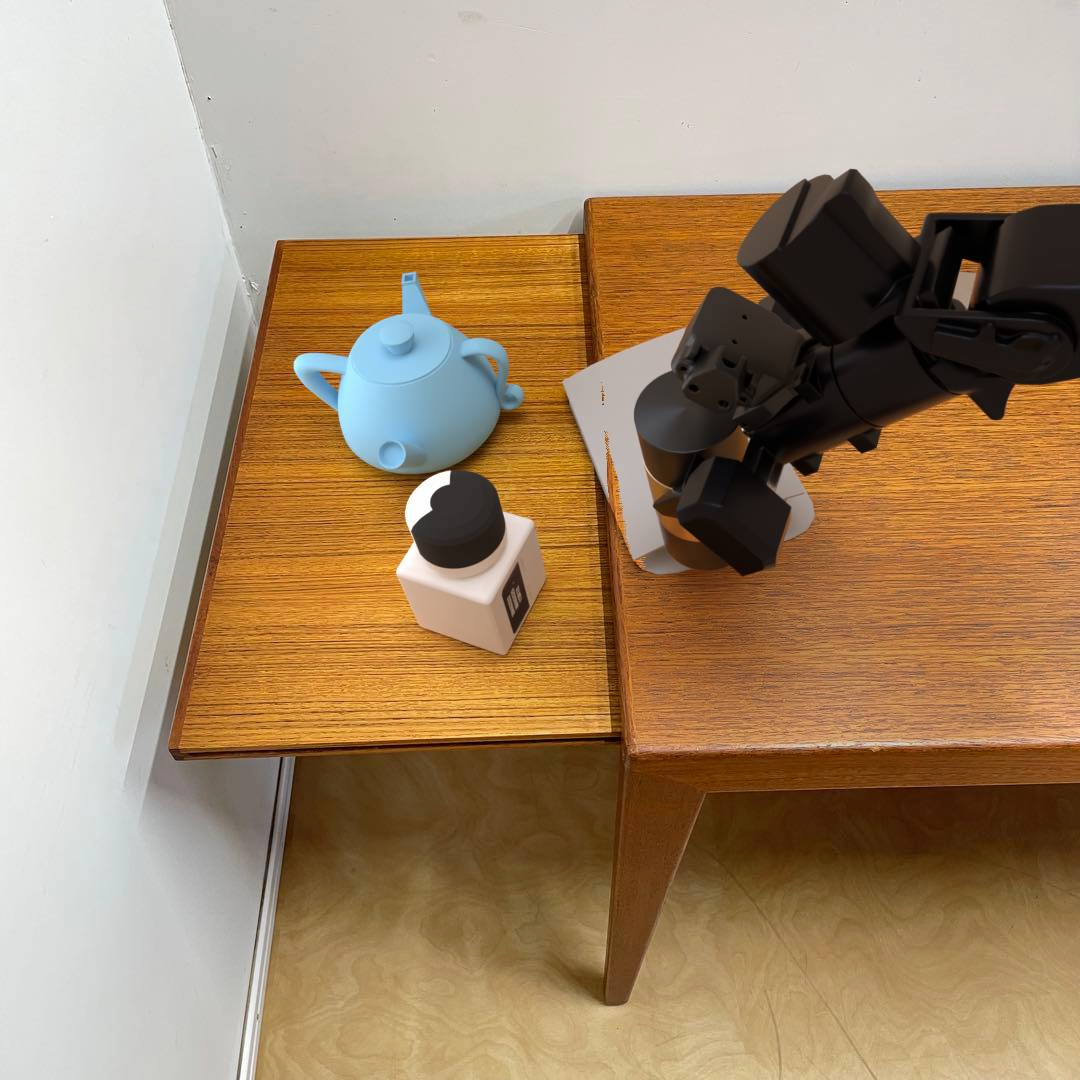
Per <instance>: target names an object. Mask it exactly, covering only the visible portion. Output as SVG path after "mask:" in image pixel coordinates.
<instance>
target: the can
mask: <svg viewBox="0 0 1080 1080" xmlns="http://www.w3.org/2000/svg"><path fill="white" fill-rule="evenodd" d="M683 384H684V381H682V380H680V379H679V378H678V377H677V376H676V375H675V374H674V373H673V371H672V370H671V371H669V372H666V373H664V374H662V375H660V376H659V377H657V378H656V379H654V380H653V381H652V382H650V383H649V384H648V385H647V386H646V387H645V388H644V389H643V391H642V392H641V393H640V395H639V397H638V399H637V401H636V404H635V408H634V423H635V427H636V431H637V435H638V439H639V443H640V447H641V451H642V457H643V463H644V467H645V471H646V475H647V479H648V483H649V487H650V491H651V495H652V499H653V503H654V502H655V501H656V500H657V499H658V498H660V497H661V496H662V495H664V494H665V493H666V492H668V491H670V490H671V489H673V488H675V487H676V486H678V485H679V484H681V483H683V482H684V480H685V478H686V475H687V473H688V470H689V468H690V465H691V463H692V460H693V458H694V455H695V453H698V454H699V455H700V456H701V457H703V458H704V459H705V460H707V459H709V458H711V457H714V456H721V457H726V458H731V459H736V460H739V461H740V462H742V460H743V457H744V454H745V451H746V449H747V446H748V443H749V441H748V437H747V436H746V435H745V434H744V433H743V432H742V430H741V427H740V426H739V425H738V424H737V423H736V422H735V421H734V420H733V419H732V418H733V416H734V413H735V411H736V408H737V407H739V405H735V406H734V407H733V409H732V410H731V411H730V412H729V413H727V414H716V413H714V412H712V411H710V410H709V409H707V408H705V407H703V406H701V405H699V404H697V403H695V402H693V401H691V400H689V399H688V398H686V397H685V396H684V394H683V392H682V386H683ZM655 511H656V515H657V517H658V521H659V525H660V529H661V533H662V537H663V541H664V544H665V547H666V549H667V551H668V552H669V554H670V555H671V556H672V557H673V558H674V559H675V560H676V561H677V562H679V563H680V564H682V565H684V566H686V567H688V568H692V569H691V570H695V571H702V572H703V571H704V572H709V571H710V572H711V571H717V570H723V569H726V568H728V567H730V566H729V565H728V564H726V563H725V562H724V561H723V560H722V559H720V558H719V557H718V556H717V555H716V554H714V553H713V552H712V551H711V550H710V549H708V548H707V547H706V546H705V545H704V544H702V543H701V542H700V541H699V540H698V539H696V538H695V537H694V536H693V535H692V534H690V533H689V532H688V531H687V530H686V529H684V528H683V527H682V526H681V525H680V524H679V521H678V519H677V518H672V517H667V516H663V515H661V514H660V513H659V512H658V511H657V510H655Z"/></svg>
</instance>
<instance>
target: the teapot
mask: <svg viewBox="0 0 1080 1080" xmlns="http://www.w3.org/2000/svg"><path fill="white" fill-rule="evenodd" d="M400 283H401V297H402V298H401V299H402V300H401V301H402V302H401V304H402V306H401V307H402V313H401V314H396V315H391V316H389V317H386V318H384V319H381V320H379V321H378V322H375V323H374V324H372V325H371V326H369V327H368V328H367V329H366V330H365V331H363V332H362V333H361V334H360V336H359V337H358V338H357V339H356V341H355V342H354V344H353V346H352V347H351V350H350V352H349V354H348V356H344V355H338V354H333V353H323V352H307V353H303V354H300V355H298V356H297V357H296V358H295V359H294V361H293V370H294V373H295V374H296V375H295V376H297V378H298V380H299V381H300V382H301V383H302V384H303V385H304V386H305V387H306V388H307V389H308V390H309V391H310V392H311V393H313V394H314V395H315V396H316V397H318V398H319V399H320V400H321V401H323V402H324V403H325V404H327V405H328V406H329V407H331V408H332V409H334V410H335V411H336V412H337V413H338V420H339V426H340V429H341V433H342V436H343V438H344V440H345V442H346V445H347V446H348V447H349V448H350V450H351V451H352V452H353V453H354V454H355V456H357V457H358V458H359V459H360V460H362V462H365V463H366V464H368V465H369V466H372V467H373V468H376V469H378V470H382V471H385V472H389V473H393V474H394V473H395V474H401V475H421V474H431V473H435V472H439V471H442V470H445V469H448V468H451V467H452V466H454V465H457V464H459V463H460V462H462V461H463V460H466V458H468V457H470V456H471V455H472V454H473V453H475V452H476V451H477V450H478V449H479V448H481V446H482V445H483V444H484V443H485V442H486V440H487V439H488V438H489V437H490V436H491V434H492V433H493V431H494V429H495V427H496V426H497V423H498V422H499V417H500V415H501V411H502V410H504V411H513V410H515V409H518V408H519V407H520V406H522V404H523V402H524V400H525V393H524V390H523V388H522V387H521V386H520V385H518V384H516V383H515V384H514V383H510V384H508V378H509V372H510V370H509V369H510V361H509V356H508V353H507V351H506V349H505V348H504V347H503V345H502V344H500V343H499V342H497V341H495V340H494V339H490V338H486V337H473V338H469V337H468V336H467V335H465V333H463V332H461V330H458V329H457V328H455V327H454V326H453V325H451V324H449V323H448V322H446V321H444V320H442V319H439V318H438V317H435V316H433V313H432V311H431V308H430V305H429V304H428V301H427V298H426V295H425V292H424V291H423V288H422V286H421V282H420V280H419V277H418V274H417V271H410V272H405V273H401V282H400ZM487 357H489V358H491V359H493V360H494V361H495V362H496V364H497V374H496V372H495V370H494V367H493V366H492V364H491V363H490V361H489V359H488V358H487ZM321 372H327V373H335V374H340V375H341V376H340V381H339V383H338V384H339V385H338V390H337V389H336V388H334V386H333V385H332V384H331V383H329V381H327V379H325V377H324V376H323V375H322V374H321Z"/></svg>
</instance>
